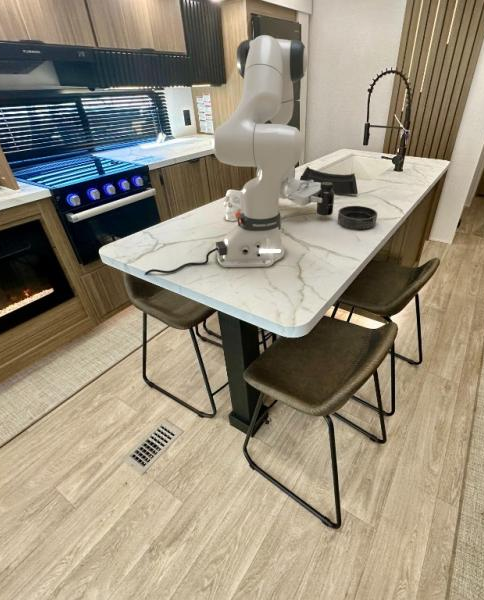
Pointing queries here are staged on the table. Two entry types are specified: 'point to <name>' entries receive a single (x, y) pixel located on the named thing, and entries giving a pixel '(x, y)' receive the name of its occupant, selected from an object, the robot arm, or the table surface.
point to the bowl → (357, 217)
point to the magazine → (333, 181)
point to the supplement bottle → (325, 199)
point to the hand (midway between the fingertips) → (327, 197)
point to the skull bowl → (233, 204)
